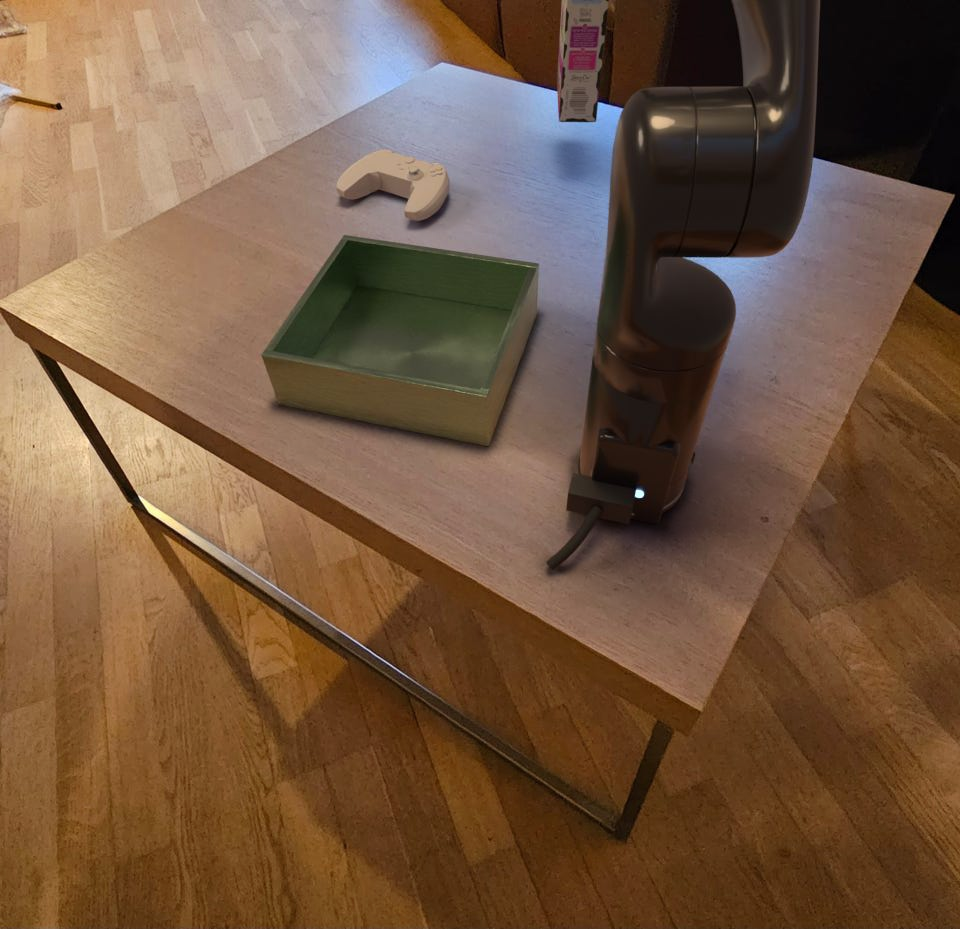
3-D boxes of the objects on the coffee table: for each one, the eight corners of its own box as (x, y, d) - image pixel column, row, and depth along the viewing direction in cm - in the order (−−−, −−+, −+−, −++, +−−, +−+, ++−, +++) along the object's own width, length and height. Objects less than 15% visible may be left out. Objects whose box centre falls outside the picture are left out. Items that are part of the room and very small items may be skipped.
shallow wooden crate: (488, 446, 67) (486, 397, 62) (278, 404, 71) (260, 354, 66) (537, 314, 79) (539, 263, 74) (354, 284, 83) (343, 234, 78)
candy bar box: (598, 123, 89) (613, -31, 77) (558, 124, 90) (566, -30, 77) (593, 83, 96) (606, -64, 84) (556, 84, 97) (563, -63, 84)
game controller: (324, 182, 91) (367, 131, 95) (335, 209, 95) (376, 160, 99) (419, 211, 86) (461, 157, 90) (427, 239, 90) (466, 186, 94)
